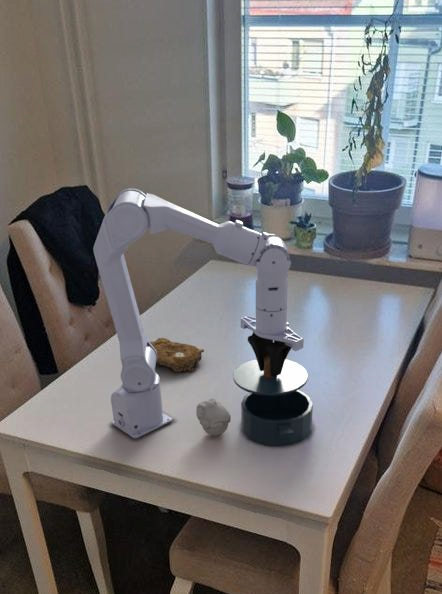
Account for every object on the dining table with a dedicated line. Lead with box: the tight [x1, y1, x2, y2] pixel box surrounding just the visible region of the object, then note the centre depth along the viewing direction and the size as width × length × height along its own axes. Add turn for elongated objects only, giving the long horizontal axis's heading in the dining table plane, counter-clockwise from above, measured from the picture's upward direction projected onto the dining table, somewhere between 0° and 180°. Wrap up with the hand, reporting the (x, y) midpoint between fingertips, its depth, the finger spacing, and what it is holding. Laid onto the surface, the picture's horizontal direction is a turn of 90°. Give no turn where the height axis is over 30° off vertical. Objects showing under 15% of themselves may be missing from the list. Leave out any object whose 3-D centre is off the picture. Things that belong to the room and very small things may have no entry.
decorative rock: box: [149, 337, 205, 373], centre depth 156 cm, size 11×4×15 cm
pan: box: [240, 389, 314, 448], centre depth 130 cm, size 13×19×6 cm
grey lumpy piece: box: [195, 397, 232, 437], centre depth 129 cm, size 6×7×7 cm
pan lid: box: [232, 356, 309, 396], centre depth 129 cm, size 14×14×5 cm
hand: (270, 371), depth 130 cm, fingers closed on pan lid, 2 cm apart
